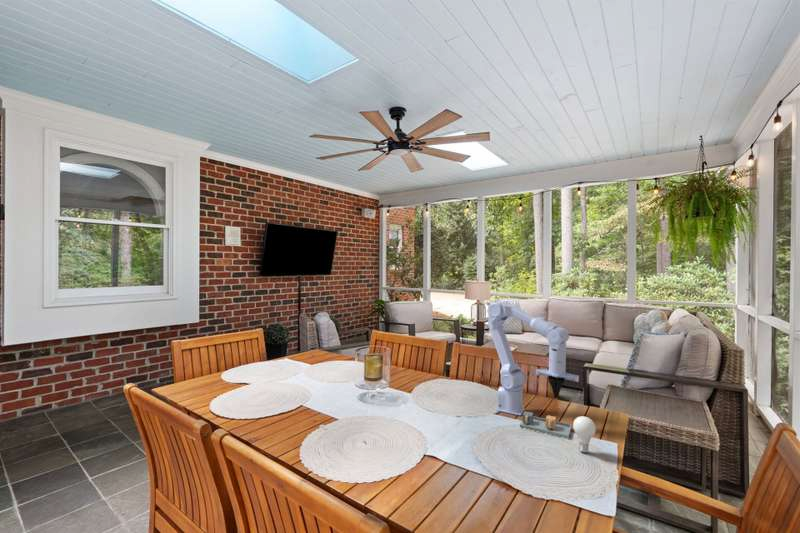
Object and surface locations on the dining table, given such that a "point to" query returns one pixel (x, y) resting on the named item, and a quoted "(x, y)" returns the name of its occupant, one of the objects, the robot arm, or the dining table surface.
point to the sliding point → (550, 422)
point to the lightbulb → (584, 431)
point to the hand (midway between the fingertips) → (556, 397)
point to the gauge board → (539, 425)
